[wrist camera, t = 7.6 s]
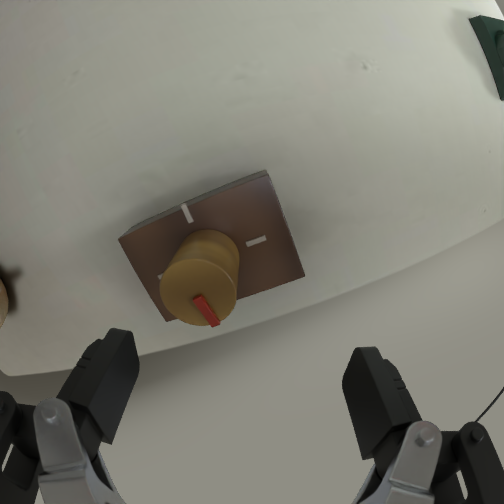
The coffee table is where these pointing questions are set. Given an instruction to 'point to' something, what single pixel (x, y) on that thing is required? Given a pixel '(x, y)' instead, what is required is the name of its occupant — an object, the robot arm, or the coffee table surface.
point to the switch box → (492, 46)
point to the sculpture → (3, 303)
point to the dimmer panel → (229, 223)
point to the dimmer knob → (202, 279)
